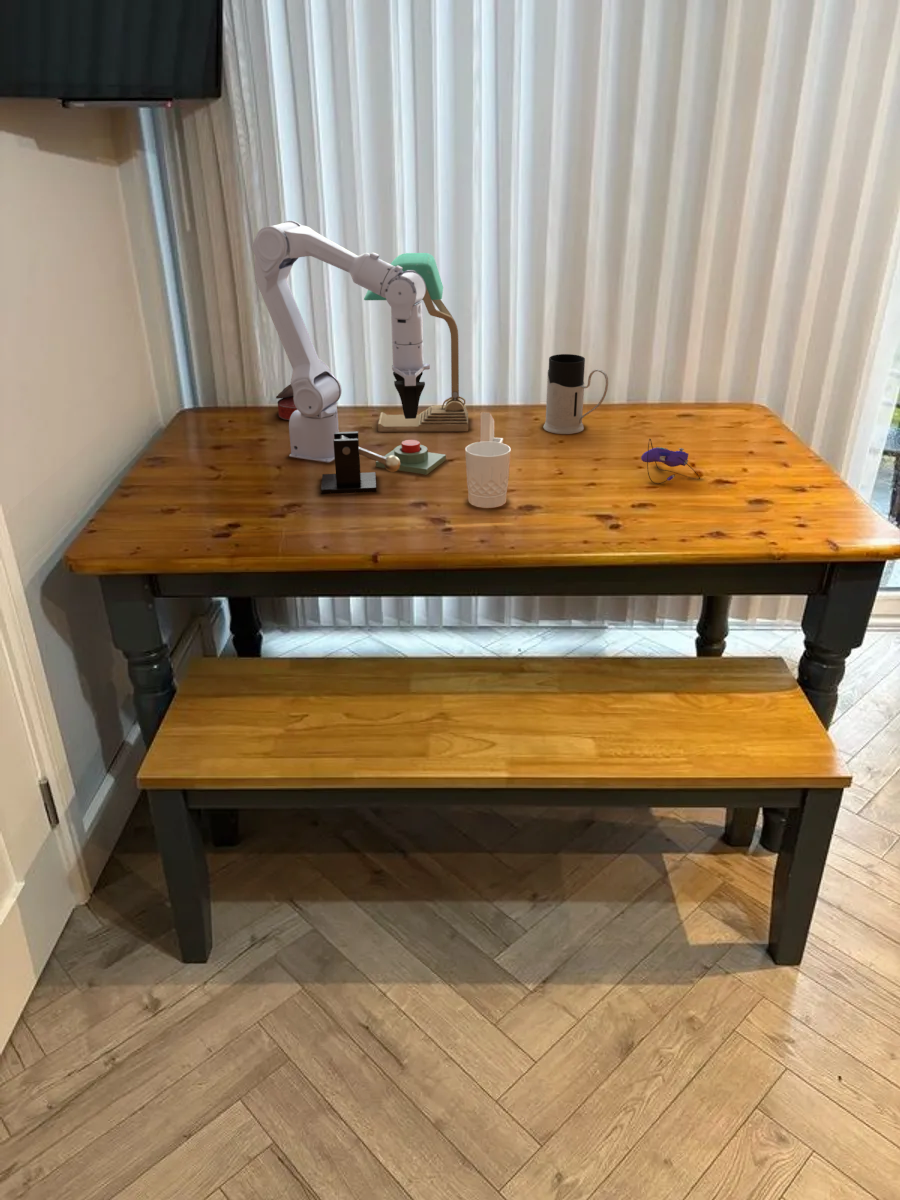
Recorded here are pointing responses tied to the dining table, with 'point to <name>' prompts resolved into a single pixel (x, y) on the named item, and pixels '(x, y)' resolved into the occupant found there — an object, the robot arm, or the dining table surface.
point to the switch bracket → (347, 468)
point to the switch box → (416, 460)
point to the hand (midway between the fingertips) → (409, 413)
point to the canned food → (286, 403)
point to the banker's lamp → (454, 410)
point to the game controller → (666, 458)
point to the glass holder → (567, 394)
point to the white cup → (487, 473)
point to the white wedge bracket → (487, 428)
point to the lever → (380, 458)
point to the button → (410, 446)
